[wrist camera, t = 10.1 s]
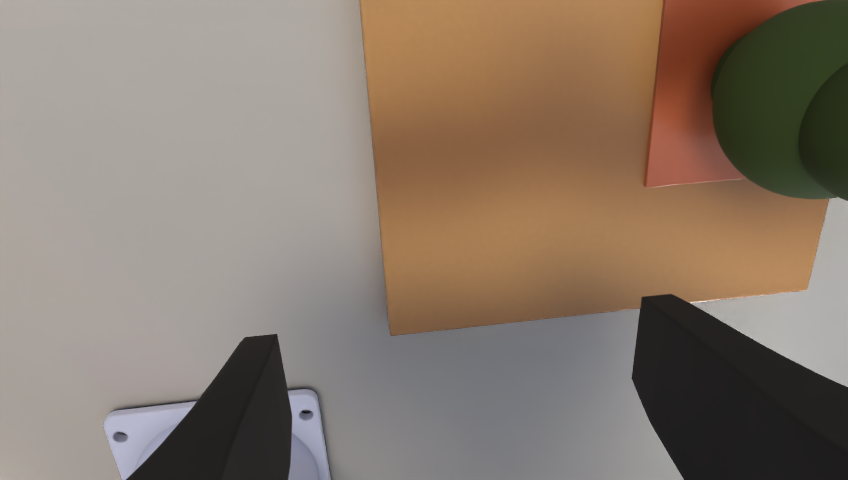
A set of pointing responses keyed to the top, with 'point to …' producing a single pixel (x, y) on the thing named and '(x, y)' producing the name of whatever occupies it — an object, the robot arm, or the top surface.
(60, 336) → the top surface
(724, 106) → the avocado
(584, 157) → the board
